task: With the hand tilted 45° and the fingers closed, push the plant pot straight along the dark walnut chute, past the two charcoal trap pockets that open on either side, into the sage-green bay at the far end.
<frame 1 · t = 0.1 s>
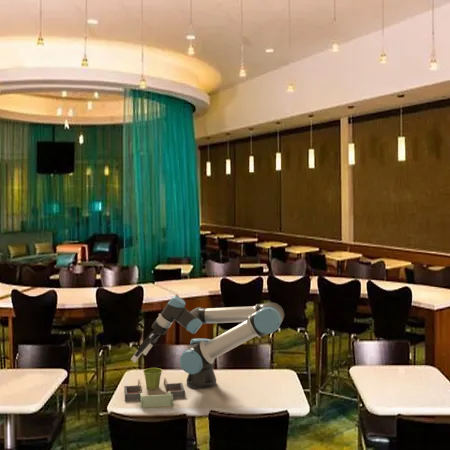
hand: (138, 357, 277), 15 cm above the table, tool tilted 35°, fingers open, 13 cm apart
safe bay: (156, 402, 258), on the table
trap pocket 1: (133, 395, 266), on the table
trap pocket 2: (175, 393, 270), on the table
plant pot: (152, 388, 278), on the table
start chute: (154, 393, 269), on the table
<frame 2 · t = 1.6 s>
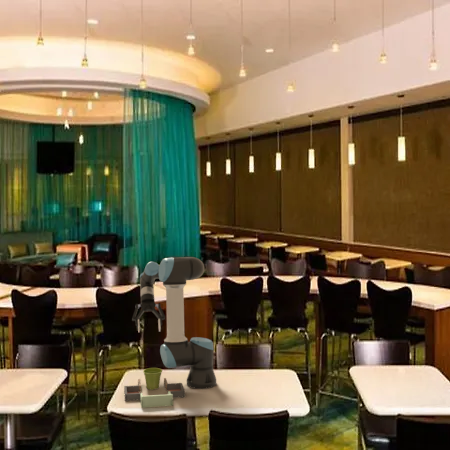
hand: (149, 330, 300), 23 cm above the table, tool tilted 45°, fingers open, 10 cm apart
nothing on the table moved.
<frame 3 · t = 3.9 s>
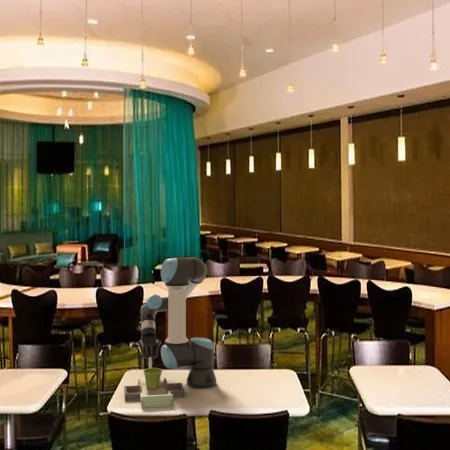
hand: (150, 369, 289), 6 cm above the table, tool tilted 45°, fingers closed
nothing on the table moved.
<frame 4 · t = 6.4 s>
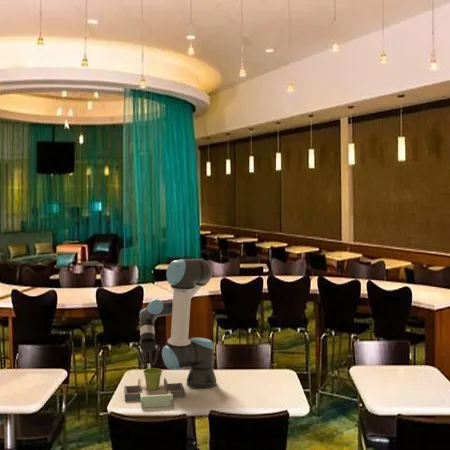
hand: (149, 376, 281), 4 cm above the table, tool tilted 45°, fingers closed
plant pot: (152, 388, 277), on the table, touching gripper
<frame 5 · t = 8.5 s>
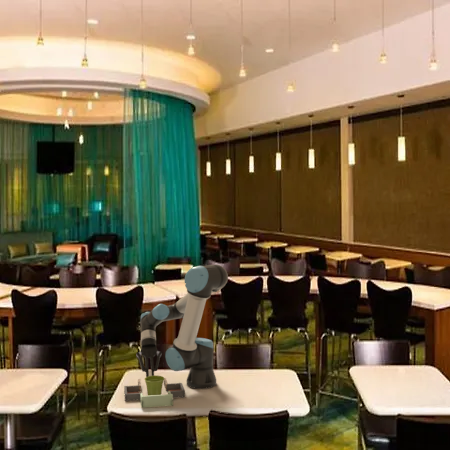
hand: (150, 384, 269), 5 cm above the table, tool tilted 45°, fingers closed
plant pot: (154, 397, 265), on the table, touching gripper
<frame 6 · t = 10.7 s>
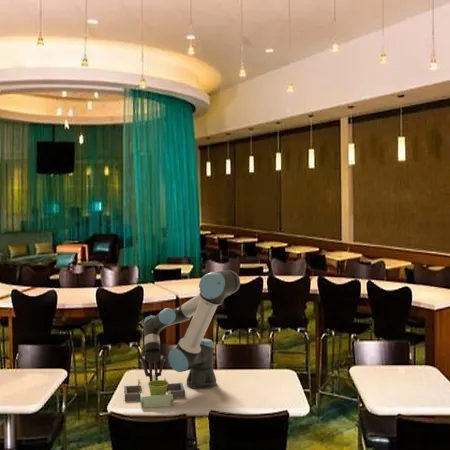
hand: (154, 389, 263), 4 cm above the table, tool tilted 45°, fingers closed
plant pot: (158, 402, 258), on the table, touching gripper
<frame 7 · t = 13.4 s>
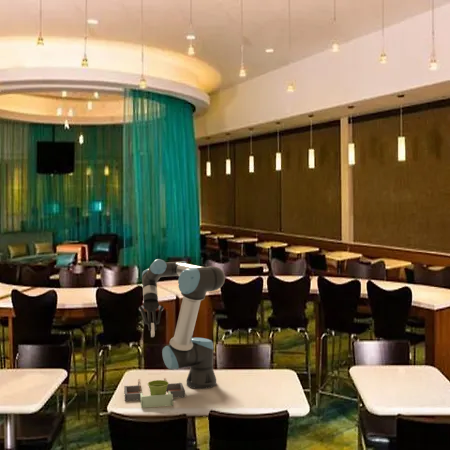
hand: (152, 335, 278), 26 cm above the table, tool tilted 45°, fingers closed
plant pot: (158, 402, 258), on the table
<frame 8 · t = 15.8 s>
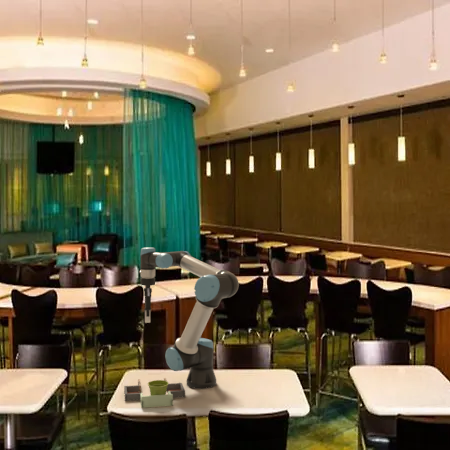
hand: (147, 322, 292), 29 cm above the table, tool pointing down, fingers closed
nothing on the table moved.
at the end: plant pot 1.0 cm from the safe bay (horizontally); plant pot tilted 0° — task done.
